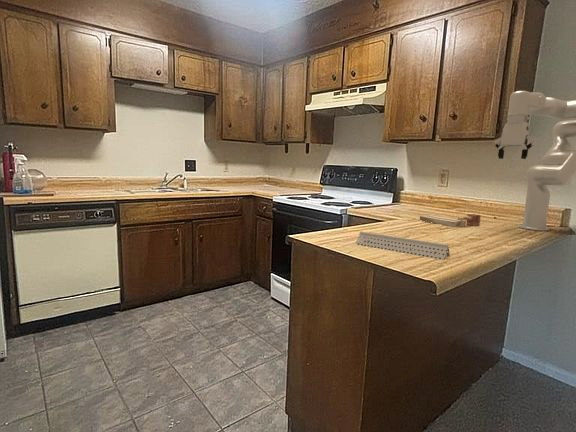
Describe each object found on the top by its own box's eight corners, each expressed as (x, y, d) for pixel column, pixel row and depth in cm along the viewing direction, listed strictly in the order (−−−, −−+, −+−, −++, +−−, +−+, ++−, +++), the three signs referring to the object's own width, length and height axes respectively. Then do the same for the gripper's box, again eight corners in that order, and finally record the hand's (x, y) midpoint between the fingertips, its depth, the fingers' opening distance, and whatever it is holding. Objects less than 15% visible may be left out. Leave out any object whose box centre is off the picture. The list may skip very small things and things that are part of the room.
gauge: (471, 224, 185) (473, 214, 184) (479, 225, 182) (480, 215, 181) (454, 226, 177) (455, 215, 176) (462, 227, 174) (463, 216, 173)
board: (431, 219, 197) (431, 215, 197) (465, 225, 180) (465, 220, 180) (419, 220, 192) (420, 216, 191) (453, 226, 175) (454, 221, 175)
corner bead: (354, 246, 130) (355, 233, 129) (364, 242, 137) (365, 229, 136) (443, 262, 112) (445, 247, 111) (450, 257, 119) (451, 242, 118)
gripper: (542, 119, 154) (536, 159, 157) (500, 122, 168) (496, 158, 171) (534, 117, 150) (529, 158, 153) (492, 120, 164) (488, 158, 167)
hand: (511, 158), depth 162 cm, fingers open, 9 cm apart
